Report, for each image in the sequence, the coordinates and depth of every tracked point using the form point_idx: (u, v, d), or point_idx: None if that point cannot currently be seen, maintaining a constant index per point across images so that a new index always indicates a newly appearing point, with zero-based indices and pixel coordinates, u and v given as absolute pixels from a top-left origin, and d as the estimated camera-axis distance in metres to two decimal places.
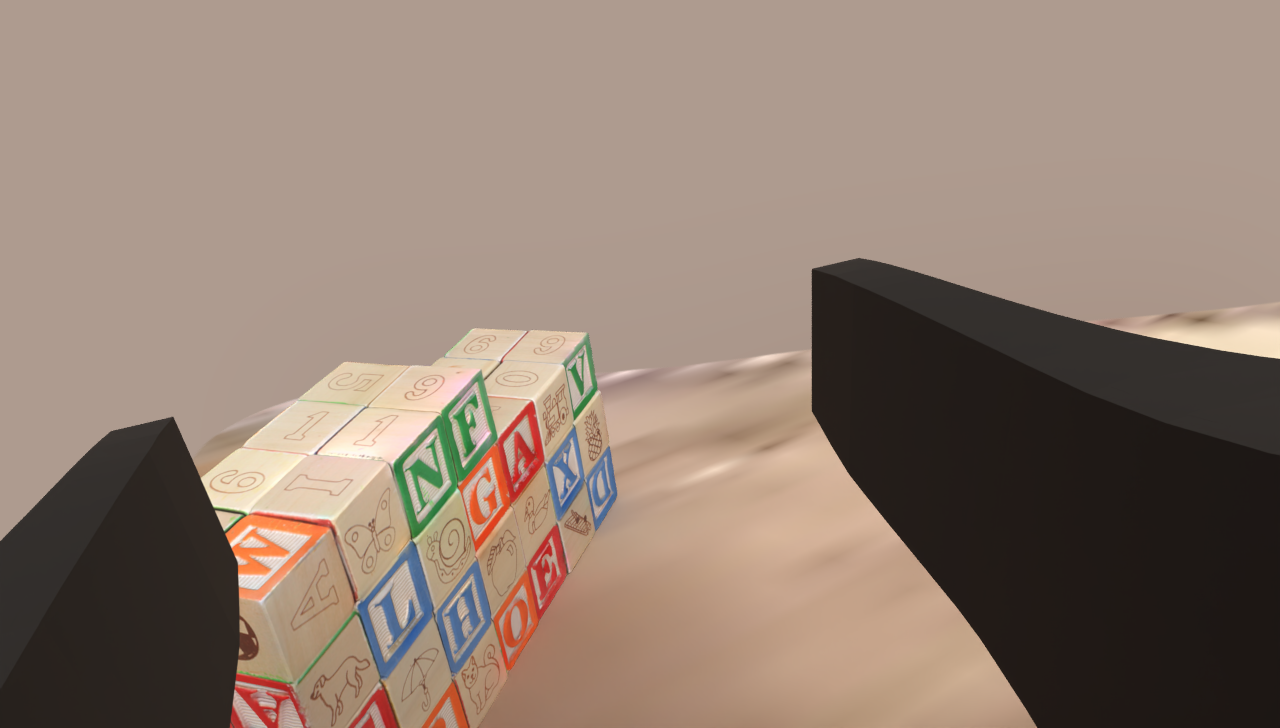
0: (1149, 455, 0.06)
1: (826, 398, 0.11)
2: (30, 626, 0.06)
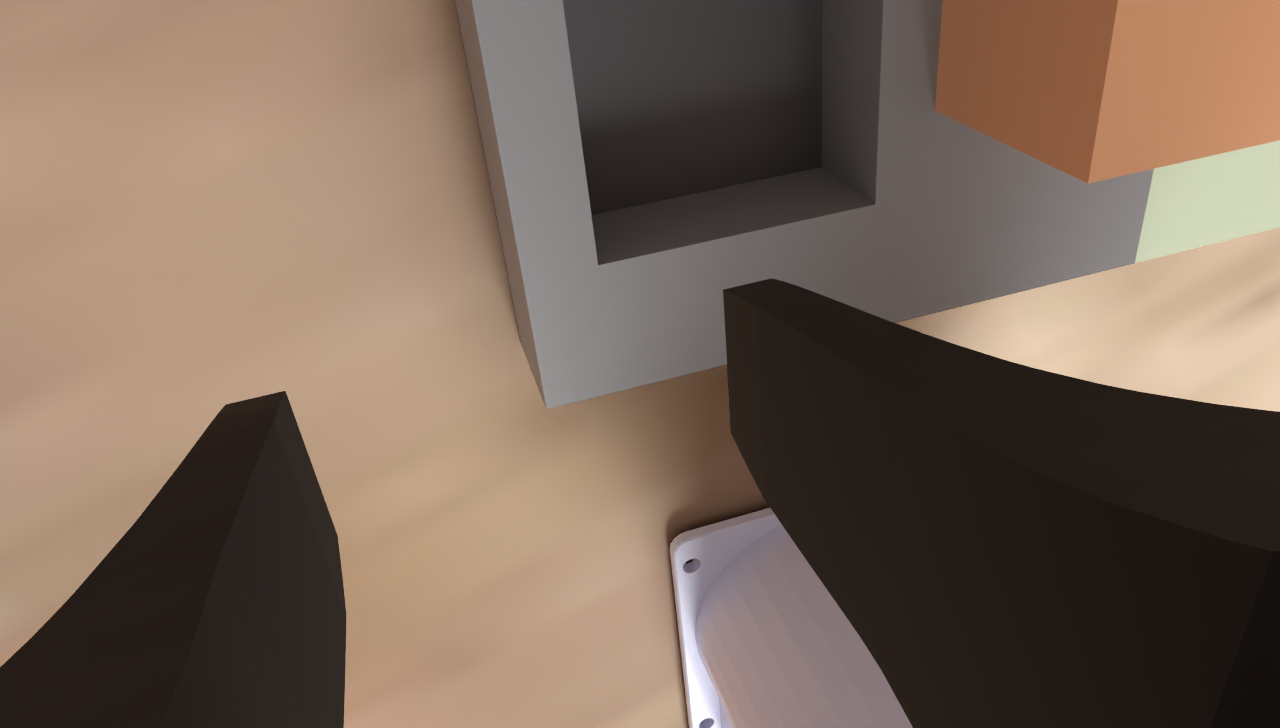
0: (1010, 496, 0.06)
1: (741, 420, 0.11)
2: (205, 579, 0.06)
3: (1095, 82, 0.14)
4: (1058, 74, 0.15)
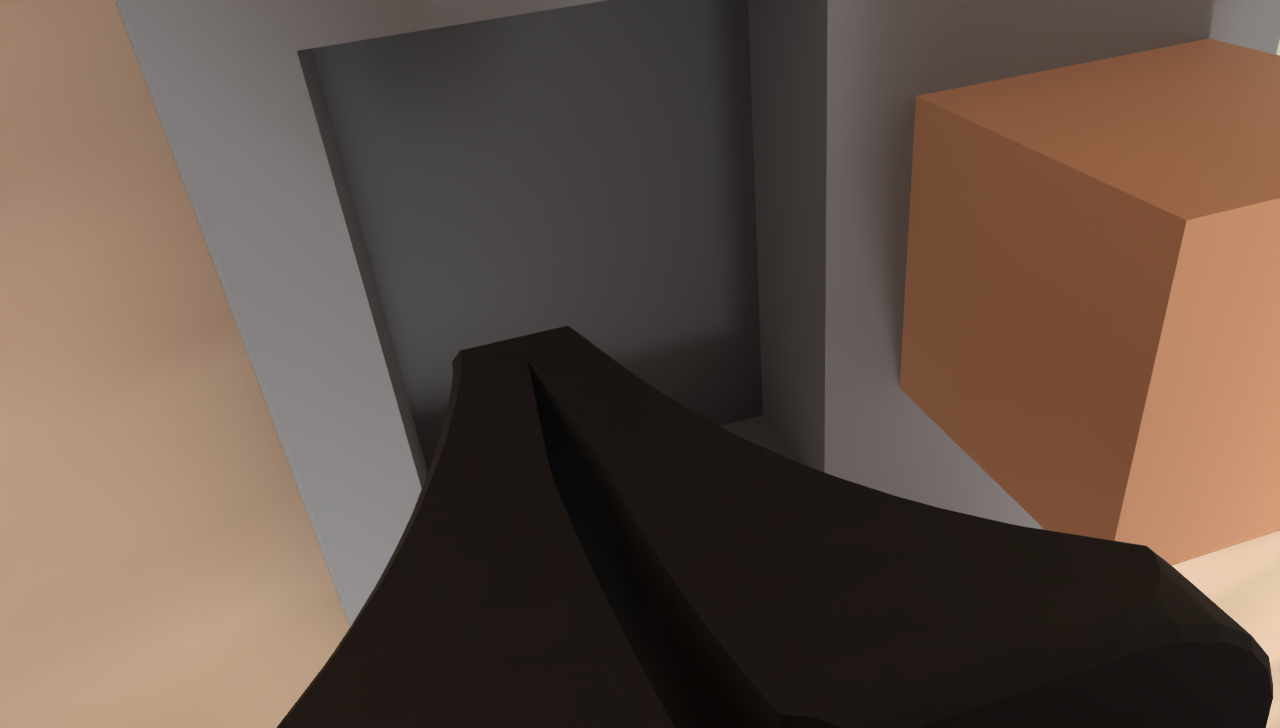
0: (666, 596, 0.06)
1: None
2: (550, 488, 0.07)
3: (1115, 468, 0.10)
4: (1062, 430, 0.11)
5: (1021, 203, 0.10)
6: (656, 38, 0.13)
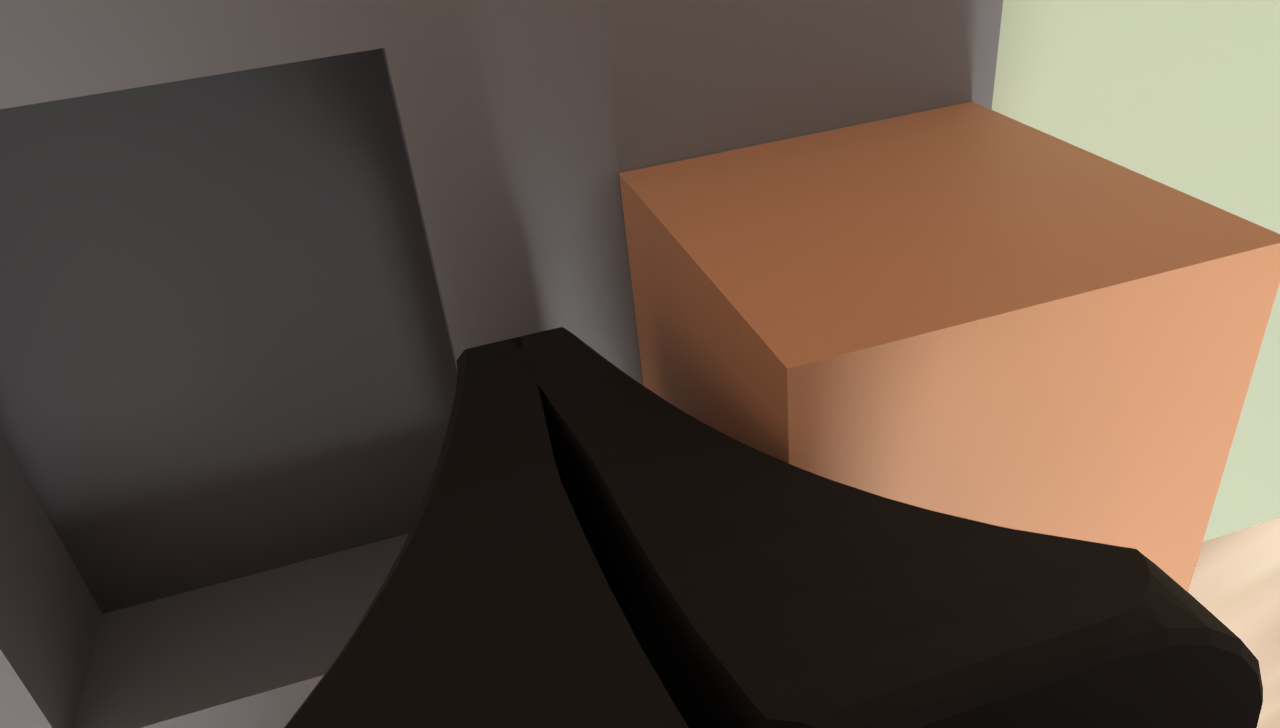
0: (657, 598, 0.06)
1: None
2: (557, 486, 0.07)
3: None
4: None
5: (691, 311, 0.09)
6: (278, 114, 0.12)
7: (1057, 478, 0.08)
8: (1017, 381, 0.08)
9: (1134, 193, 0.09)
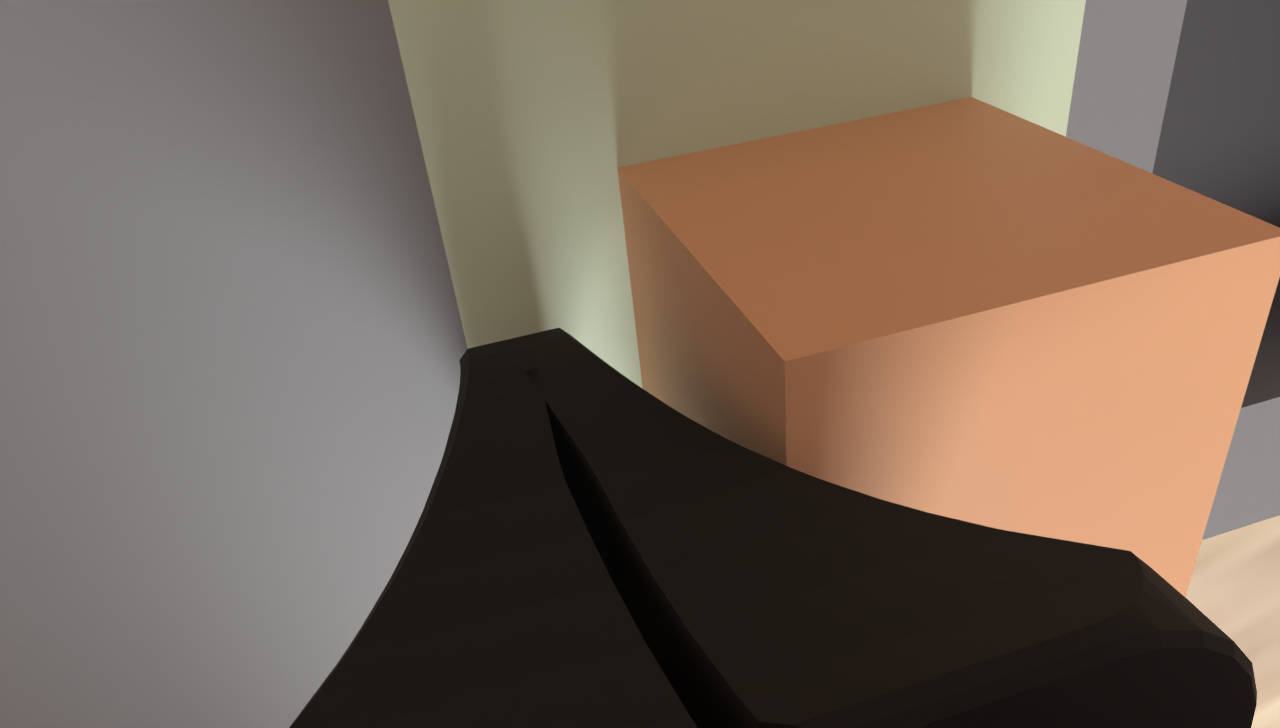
0: (653, 602, 0.06)
1: None
2: (561, 485, 0.07)
3: None
4: None
5: (689, 305, 0.09)
6: None
7: (1055, 472, 0.08)
8: (1015, 375, 0.07)
9: (1134, 187, 0.09)
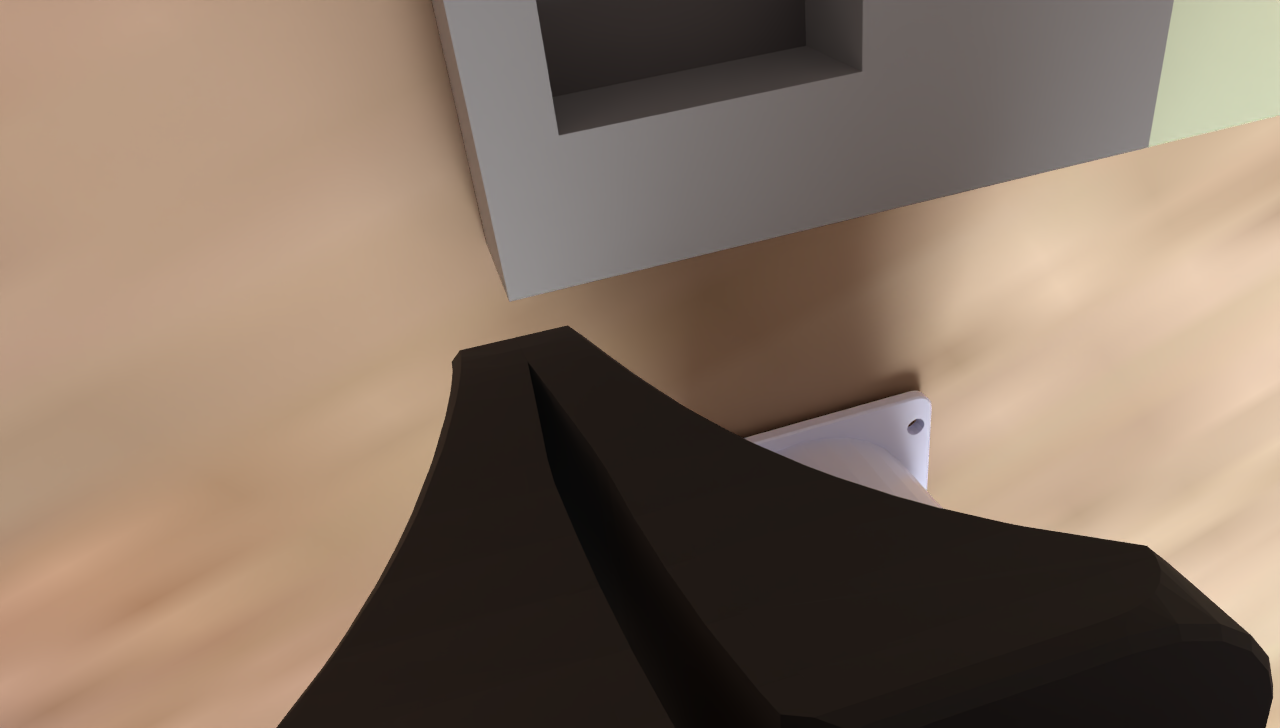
0: (666, 596, 0.06)
1: None
2: (550, 488, 0.07)
3: None
4: None
5: None
6: None
7: None
8: None
9: None
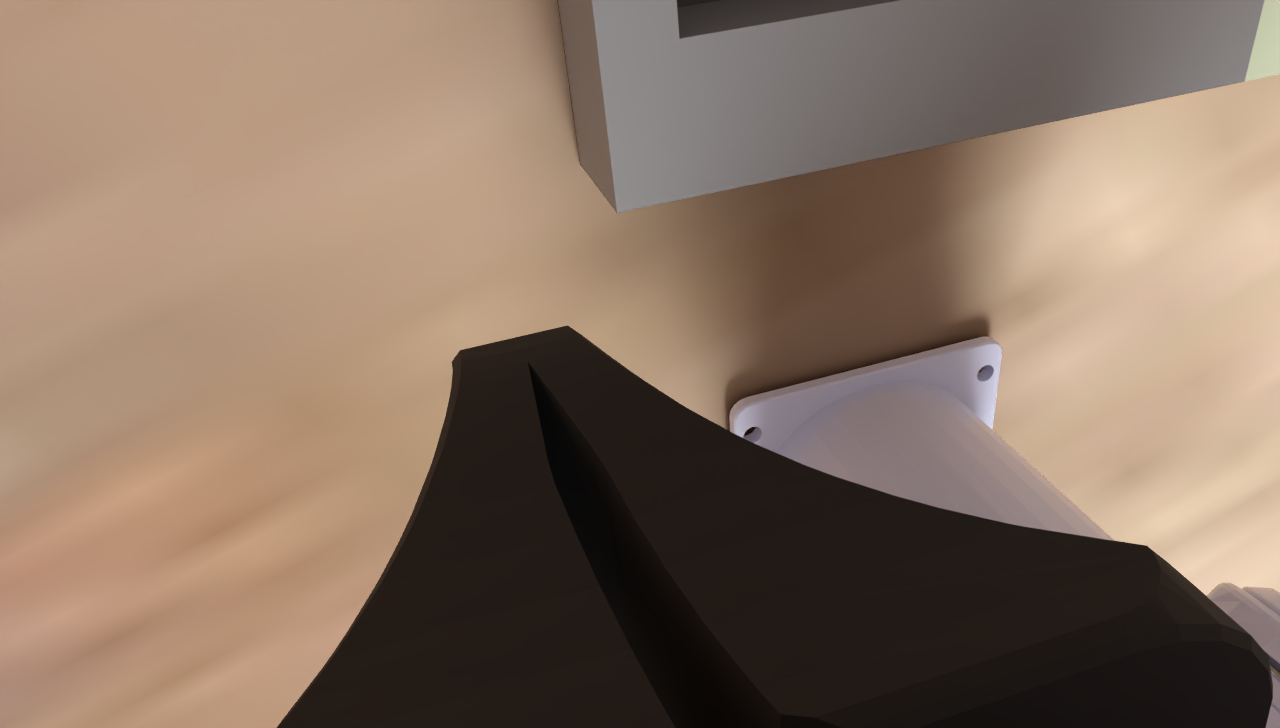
0: (666, 596, 0.06)
1: None
2: (550, 487, 0.07)
3: None
4: None
5: None
6: None
7: None
8: None
9: None
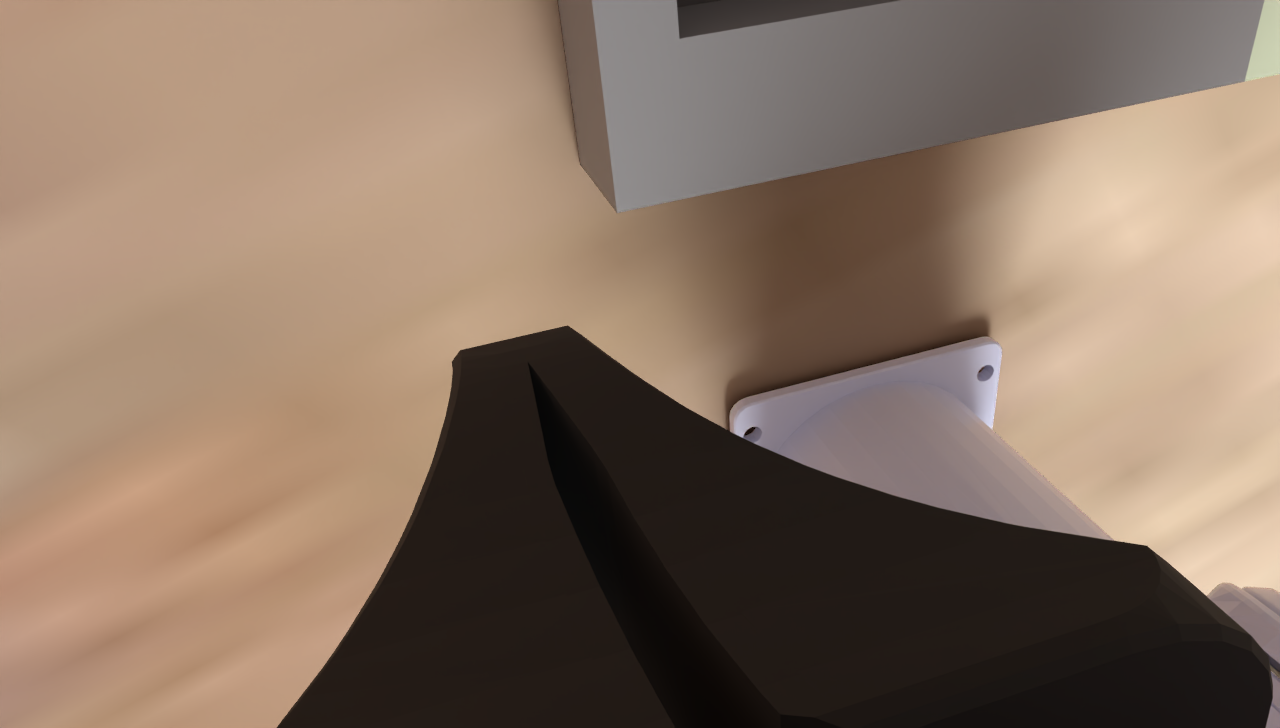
0: (666, 596, 0.06)
1: None
2: (550, 487, 0.07)
3: None
4: None
5: None
6: None
7: None
8: None
9: None
